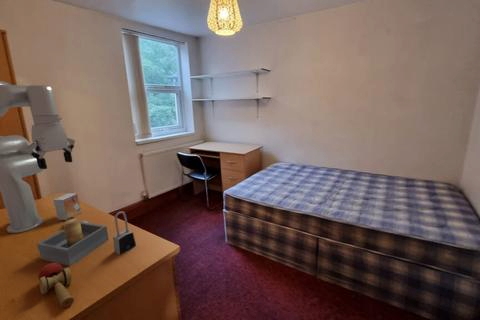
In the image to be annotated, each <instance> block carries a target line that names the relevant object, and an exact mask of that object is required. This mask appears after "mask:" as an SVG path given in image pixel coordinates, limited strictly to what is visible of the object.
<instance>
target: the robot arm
mask: <svg viewBox="0 0 480 320" xmlns="http://www.w3.org/2000/svg"><path fill="white" fill-rule="evenodd" d="M56 102H57V101H56V98H55V94H54V89H53V88H52V86H49V85H44V84H38V85H37V84H33V85H31V84H30V85H22V84H21V85H20V84H19V85H18V84H10V83H9V82H6V81H2V80H0V118H2V117H4V116H5V115H6V113H7V112H8V111H9V109H10V108H18V107H19V108H23V107H26V108H27V107H29V109H30V113H31V118H32V121H33V125H31V130H30V131H31V133H30V134H31V142H32V143H30V141H29V140H28V139H27V138H25V137H24V136H22V135H17V134H15V135H14V134H13V135H7V136H6V135H4V136H2V135H0V194H1V197H2V200H3V204H4V207H5V211H6V213H7V217H8V218H7V220H8V222H9V223H10V225H8V226H7V227H6V231H7V232H8V233H10V234H18V233H23V232H28V231H31V230H33V229H36V228H37V227H40V226H42V225H43V223H44V222H45V218H44V217H42V216H39V213H38V210H37V205H36V201H35V198H34V194H33V190H32V187H31V185H30V184H29V183H27V181H24V180H23V178H26V177H29V176H32V175H36V174H37V175H38V174H39V173H41V172H43V171H44V170H47V169H48V165H47V161H46V157H45V154H46V153H51V152H55V151H60V150H62V151H63V158H64V162H65V163H73V156H72V152H73V149H74V148H75V143H76V140H75V139H72V138H69V137H68V136H67V133H66V131H65V128H64V125H63V123H62V122H61V120H63V119H62V116H61V115H60V116H59V112H58V107H57V103H56Z"/></svg>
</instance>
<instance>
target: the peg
mask: <svg viewBox="0 0 480 320" xmlns="http://www.w3.org/2000/svg"><path fill="white" fill-rule="evenodd" d="M80 221H81V220H80V219H79V218H74V219H71V220H68V221H67V220H65V221H64V222H63V230H65V235H66V240H67V244H68V248H69V247H70V246H72V245H74V244H75V243H77V242H79V241H80V240H82V239H83V234H82V229H81V224H80Z"/></svg>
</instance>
